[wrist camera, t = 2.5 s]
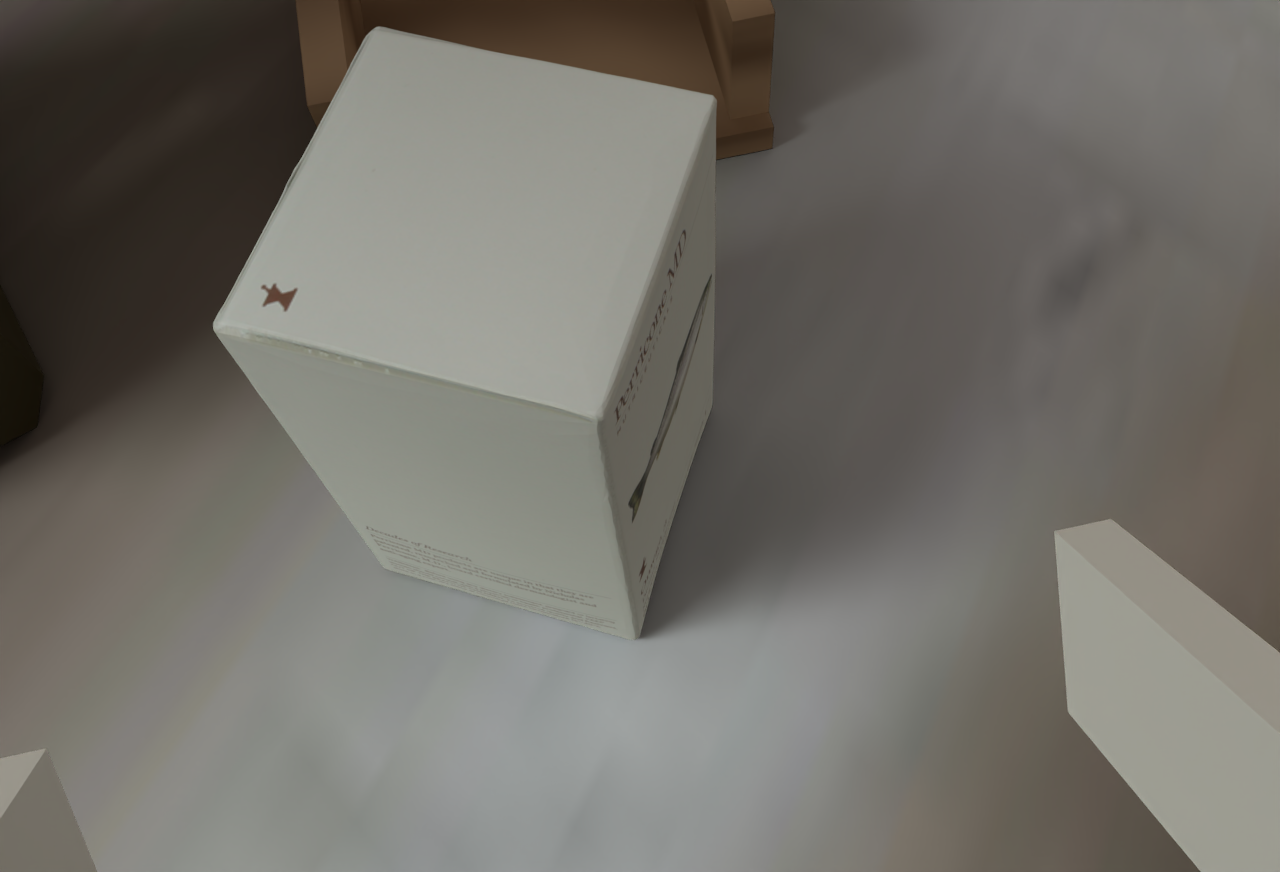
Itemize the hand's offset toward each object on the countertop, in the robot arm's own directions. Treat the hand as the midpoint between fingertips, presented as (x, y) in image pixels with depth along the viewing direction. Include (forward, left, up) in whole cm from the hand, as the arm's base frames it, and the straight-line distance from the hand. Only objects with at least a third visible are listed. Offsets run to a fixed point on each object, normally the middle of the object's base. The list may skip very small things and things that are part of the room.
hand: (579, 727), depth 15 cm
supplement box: (-8, +6, -14) cm, 17 cm away
